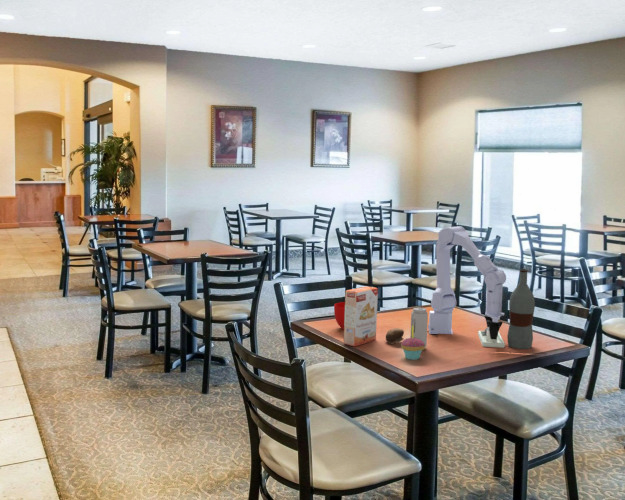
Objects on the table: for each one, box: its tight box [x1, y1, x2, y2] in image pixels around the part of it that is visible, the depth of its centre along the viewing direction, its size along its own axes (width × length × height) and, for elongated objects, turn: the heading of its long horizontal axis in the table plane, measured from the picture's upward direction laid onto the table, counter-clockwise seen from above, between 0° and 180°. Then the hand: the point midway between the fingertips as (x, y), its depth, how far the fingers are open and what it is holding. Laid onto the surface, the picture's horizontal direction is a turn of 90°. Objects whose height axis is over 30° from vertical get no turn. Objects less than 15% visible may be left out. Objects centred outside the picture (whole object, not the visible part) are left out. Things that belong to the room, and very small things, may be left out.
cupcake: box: [400, 323, 426, 361], centre depth 230 cm, size 9×8×12 cm
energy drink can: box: [409, 307, 429, 348], centre depth 242 cm, size 6×6×15 cm
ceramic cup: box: [333, 301, 345, 331], centre depth 272 cm, size 13×17×10 cm
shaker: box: [486, 327, 497, 342], centre depth 249 cm, size 4×4×6 cm
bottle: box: [507, 268, 536, 350], centre depth 244 cm, size 9×9×30 cm
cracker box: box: [343, 285, 379, 347], centre depth 249 cm, size 14×6×21 cm, turn 139°
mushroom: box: [385, 327, 405, 344], centre depth 250 cm, size 8×8×6 cm
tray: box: [477, 330, 506, 349], centre depth 253 cm, size 8×18×2 cm, turn 171°
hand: (492, 336), depth 249 cm, fingers open, 7 cm apart
